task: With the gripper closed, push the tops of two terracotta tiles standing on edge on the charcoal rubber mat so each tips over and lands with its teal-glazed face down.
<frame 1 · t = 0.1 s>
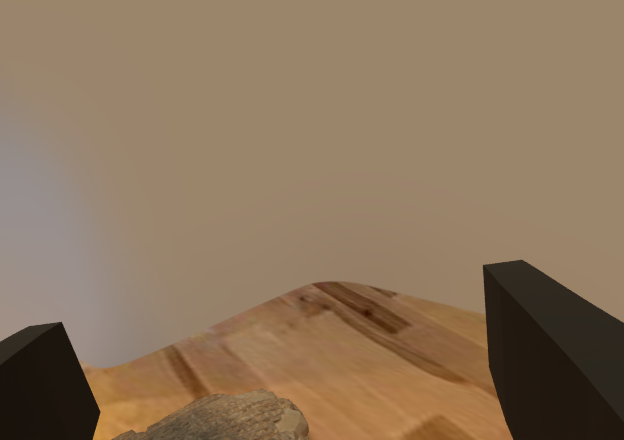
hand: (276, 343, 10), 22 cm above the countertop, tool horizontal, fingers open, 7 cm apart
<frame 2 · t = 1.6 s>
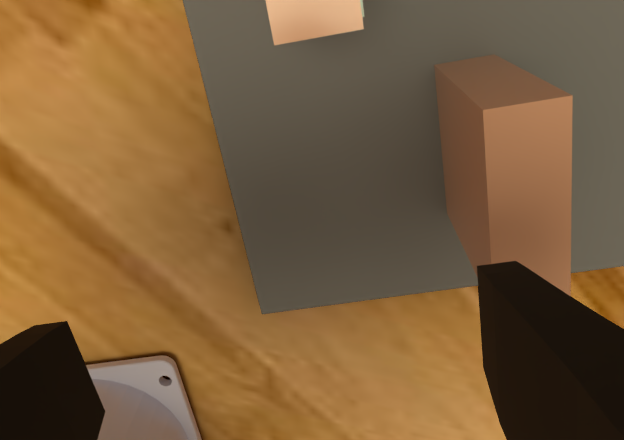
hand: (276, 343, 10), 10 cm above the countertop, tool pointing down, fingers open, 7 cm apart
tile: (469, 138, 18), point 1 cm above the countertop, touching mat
mat: (446, 91, 18), on the countertop
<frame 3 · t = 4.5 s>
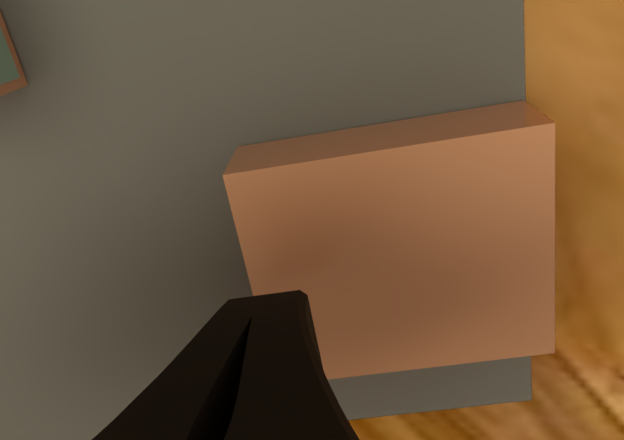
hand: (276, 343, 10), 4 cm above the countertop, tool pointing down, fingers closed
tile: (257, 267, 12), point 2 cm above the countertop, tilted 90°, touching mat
mat: (192, 188, 13), on the countertop
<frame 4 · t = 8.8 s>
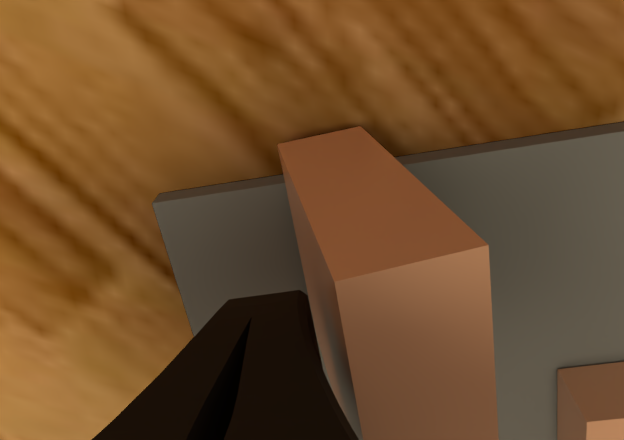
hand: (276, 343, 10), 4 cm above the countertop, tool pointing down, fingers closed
mat: (494, 388, 15), on the countertop
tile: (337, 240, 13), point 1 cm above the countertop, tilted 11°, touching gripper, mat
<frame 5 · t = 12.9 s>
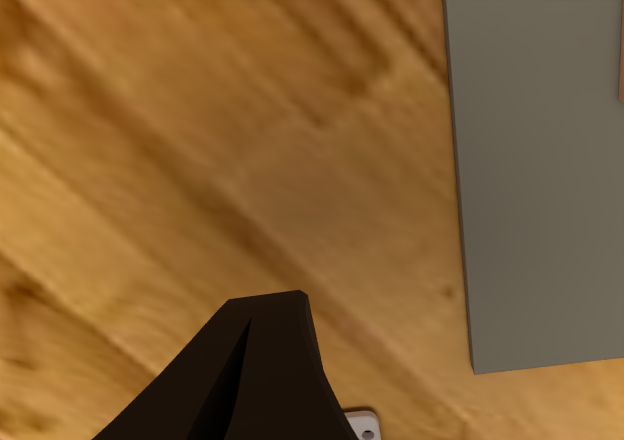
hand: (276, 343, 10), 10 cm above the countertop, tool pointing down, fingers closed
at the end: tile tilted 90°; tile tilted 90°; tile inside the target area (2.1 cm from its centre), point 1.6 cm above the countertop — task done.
